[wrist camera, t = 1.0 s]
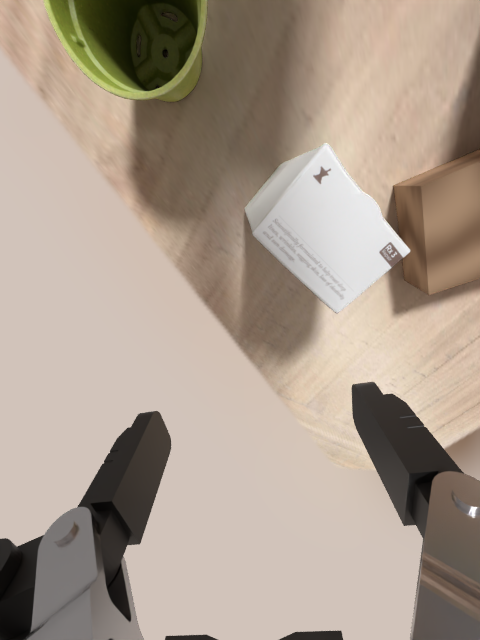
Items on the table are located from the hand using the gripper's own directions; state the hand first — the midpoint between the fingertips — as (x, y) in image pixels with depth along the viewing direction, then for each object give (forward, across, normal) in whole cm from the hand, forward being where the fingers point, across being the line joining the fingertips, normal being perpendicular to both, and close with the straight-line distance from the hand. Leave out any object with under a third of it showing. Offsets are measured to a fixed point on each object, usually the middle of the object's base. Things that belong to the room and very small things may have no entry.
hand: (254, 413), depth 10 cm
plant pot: (+21, +3, -21) cm, 30 cm away
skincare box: (+22, -6, -6) cm, 23 cm away
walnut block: (+22, -23, -3) cm, 32 cm away
